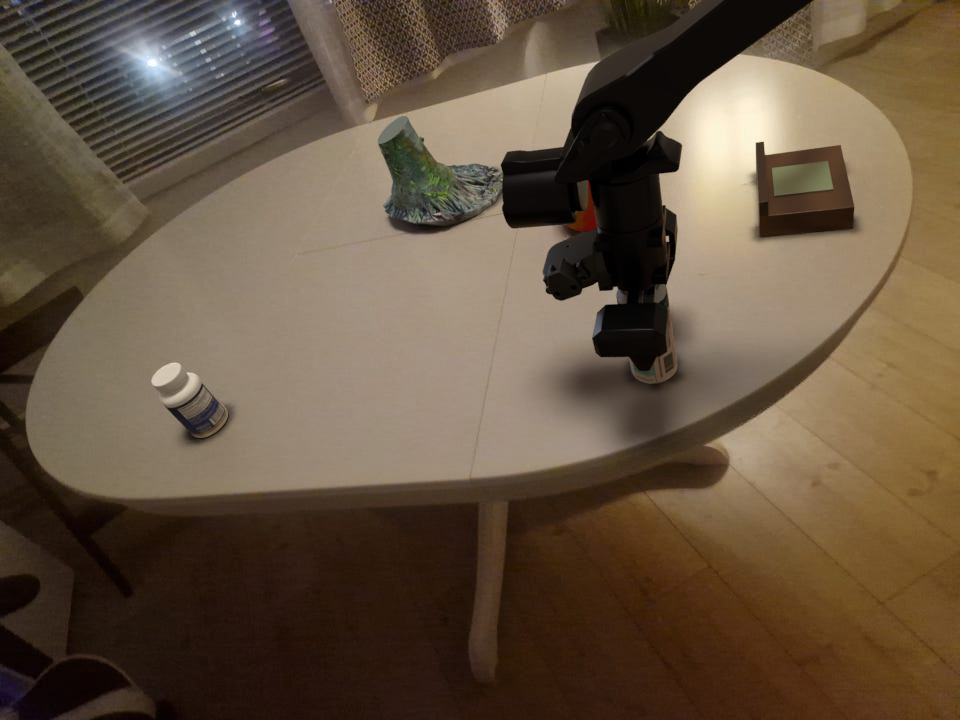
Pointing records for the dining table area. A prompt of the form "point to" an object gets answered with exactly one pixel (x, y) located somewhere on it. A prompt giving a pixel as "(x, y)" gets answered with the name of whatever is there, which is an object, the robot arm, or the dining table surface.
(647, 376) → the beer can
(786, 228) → the brown rectangular block
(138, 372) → the dining table surface
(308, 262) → the dining table surface
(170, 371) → the pill bottle
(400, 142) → the tree stump
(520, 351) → the dining table surface
